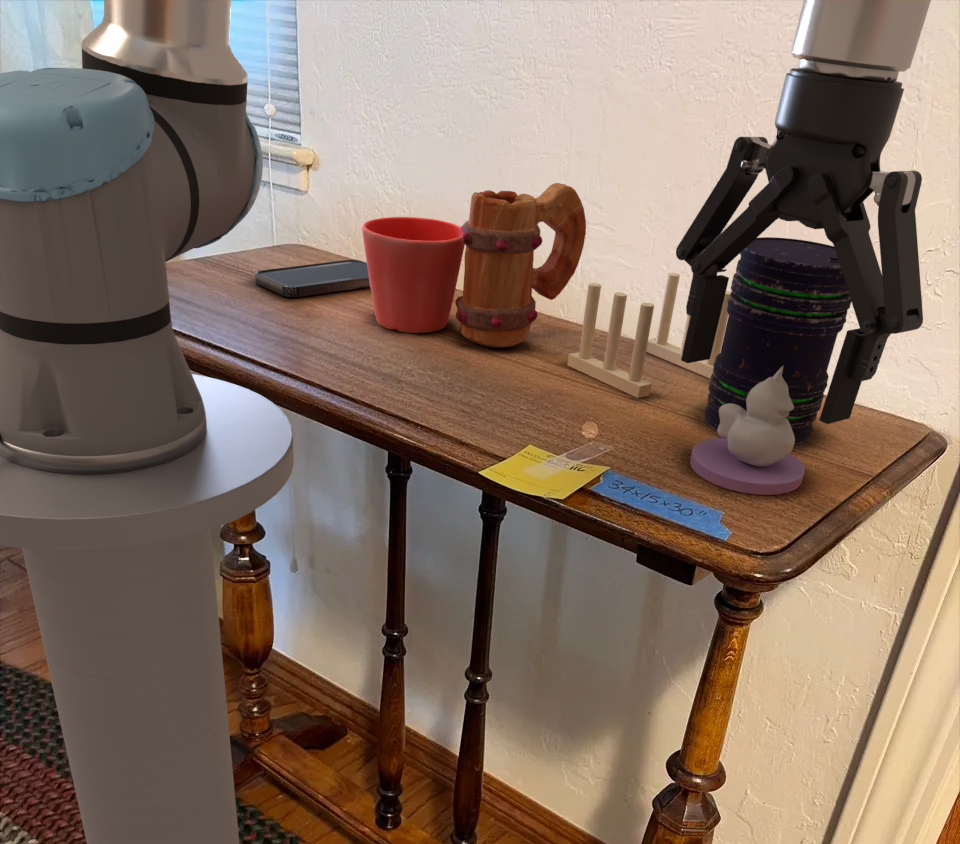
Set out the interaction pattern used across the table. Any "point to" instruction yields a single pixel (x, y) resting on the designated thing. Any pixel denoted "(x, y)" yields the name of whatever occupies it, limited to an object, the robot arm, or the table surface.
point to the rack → (638, 341)
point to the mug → (515, 260)
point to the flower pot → (412, 271)
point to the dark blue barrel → (781, 327)
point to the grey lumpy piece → (760, 424)
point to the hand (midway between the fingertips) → (760, 388)
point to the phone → (315, 278)
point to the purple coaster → (744, 470)
